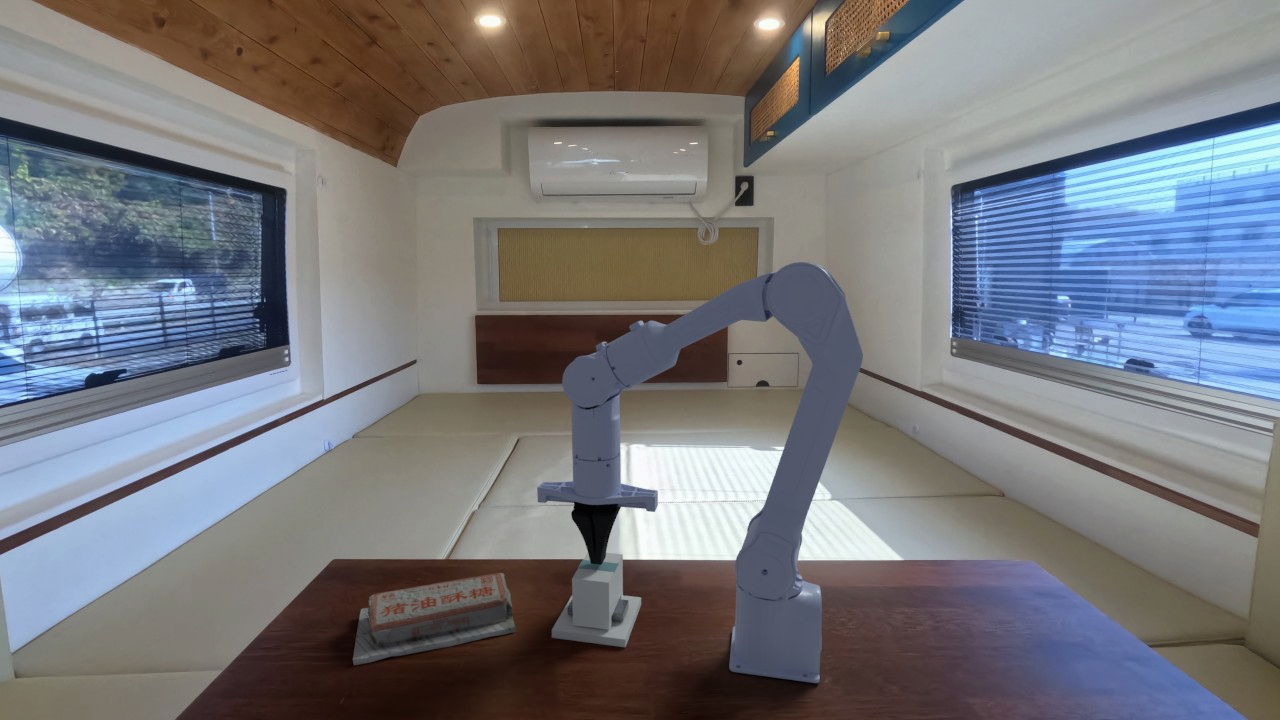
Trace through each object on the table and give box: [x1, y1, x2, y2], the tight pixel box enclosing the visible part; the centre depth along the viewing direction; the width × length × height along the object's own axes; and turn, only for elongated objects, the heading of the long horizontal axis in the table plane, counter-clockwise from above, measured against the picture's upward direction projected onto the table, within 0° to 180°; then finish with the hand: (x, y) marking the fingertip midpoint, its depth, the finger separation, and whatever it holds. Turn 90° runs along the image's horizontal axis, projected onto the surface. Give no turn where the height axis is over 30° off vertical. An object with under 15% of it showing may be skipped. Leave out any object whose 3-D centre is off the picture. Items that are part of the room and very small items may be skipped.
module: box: [571, 552, 624, 630], centre depth 73 cm, size 5×7×6 cm, turn 169°
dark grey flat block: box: [568, 599, 629, 621], centre depth 74 cm, size 7×3×1 cm, turn 78°
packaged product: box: [352, 572, 516, 666], centre depth 73 cm, size 18×5×10 cm
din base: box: [551, 594, 642, 648], centre depth 74 cm, size 9×9×1 cm
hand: (598, 560), depth 73 cm, fingers closed
